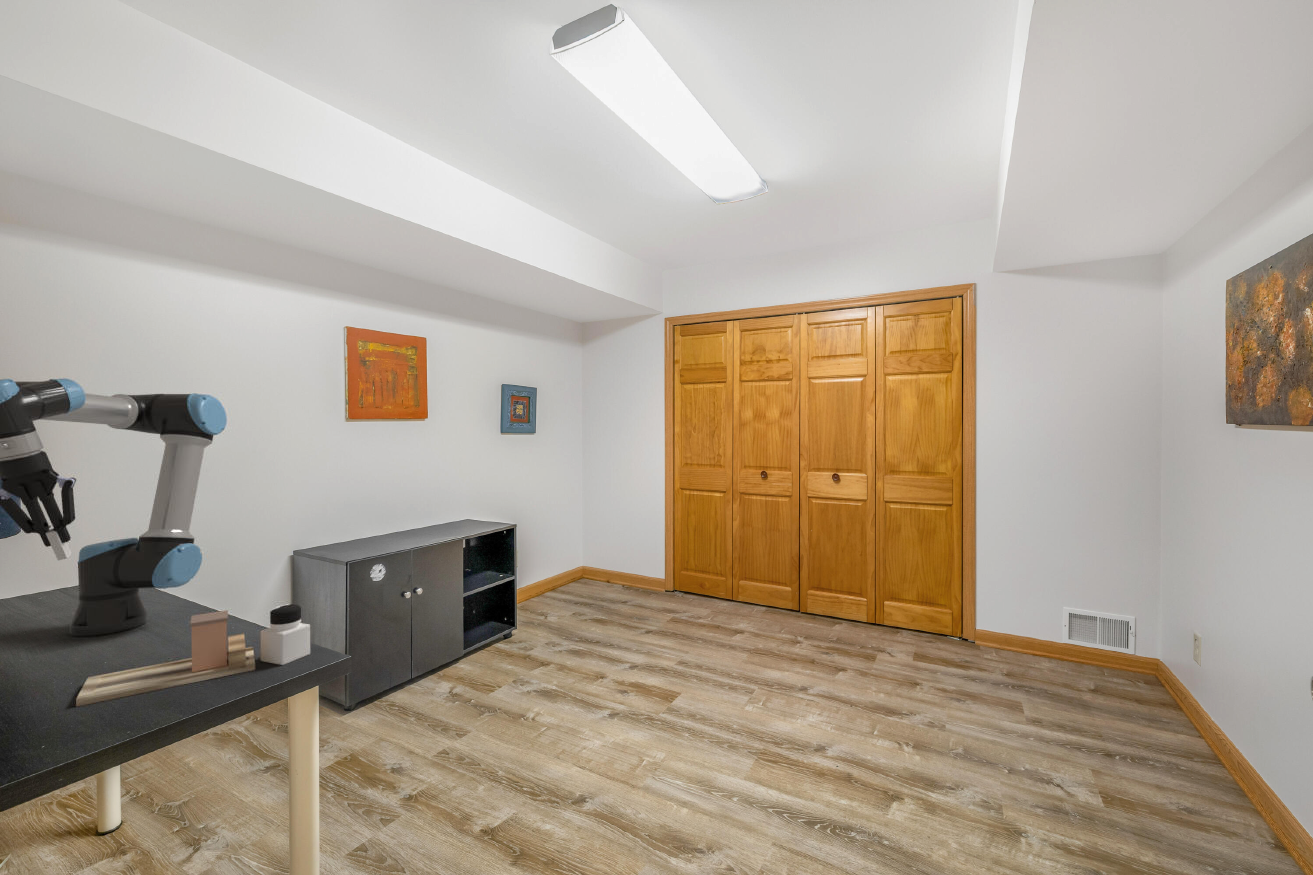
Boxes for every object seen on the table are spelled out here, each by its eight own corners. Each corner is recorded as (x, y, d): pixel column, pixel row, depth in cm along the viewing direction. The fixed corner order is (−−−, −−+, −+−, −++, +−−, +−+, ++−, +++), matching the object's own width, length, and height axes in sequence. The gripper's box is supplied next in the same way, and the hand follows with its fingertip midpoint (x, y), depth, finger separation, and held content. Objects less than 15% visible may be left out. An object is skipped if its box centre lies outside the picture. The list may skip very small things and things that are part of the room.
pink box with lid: (191, 663, 126) (191, 615, 126) (227, 656, 130) (227, 610, 130) (190, 672, 121) (190, 623, 121) (228, 665, 125) (227, 617, 125)
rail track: (88, 684, 118) (88, 660, 118) (253, 652, 135) (253, 631, 135) (76, 706, 109) (76, 680, 109) (255, 669, 126) (255, 647, 125)
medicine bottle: (311, 653, 135) (310, 603, 134) (282, 665, 128) (282, 612, 128) (289, 650, 137) (288, 600, 137) (259, 661, 130) (259, 609, 130)
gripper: (-36, 467, 111) (16, 574, 118) (54, 451, 117) (98, 553, 124) (-17, 458, 117) (31, 560, 124) (67, 443, 123) (109, 541, 130)
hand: (64, 556), depth 124 cm, fingers closed
